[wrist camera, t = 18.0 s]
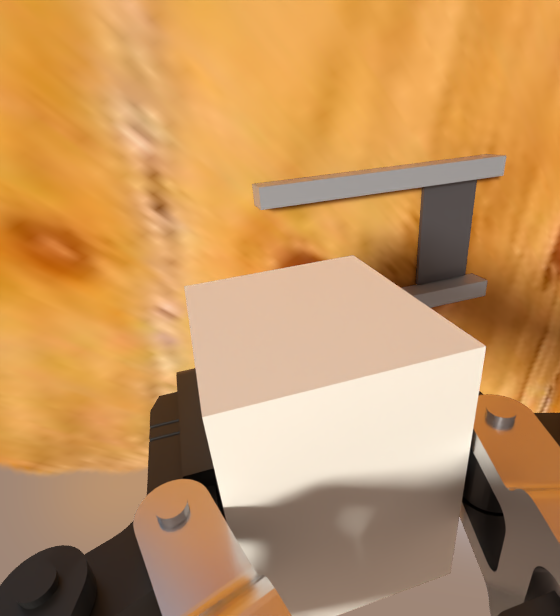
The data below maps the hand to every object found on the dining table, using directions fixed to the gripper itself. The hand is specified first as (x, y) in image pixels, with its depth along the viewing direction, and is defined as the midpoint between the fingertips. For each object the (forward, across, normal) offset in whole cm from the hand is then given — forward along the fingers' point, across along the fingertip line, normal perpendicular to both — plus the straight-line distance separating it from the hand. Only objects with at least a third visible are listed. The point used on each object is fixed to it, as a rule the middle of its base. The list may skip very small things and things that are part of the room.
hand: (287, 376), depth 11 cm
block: (+1, 0, 0) cm, 1 cm away
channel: (+20, -13, +4) cm, 25 cm away
